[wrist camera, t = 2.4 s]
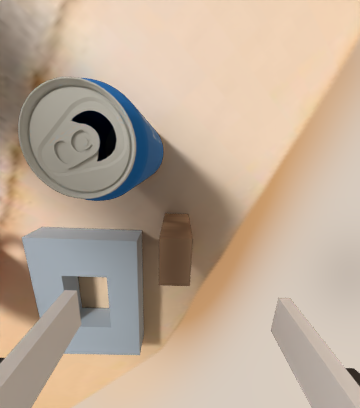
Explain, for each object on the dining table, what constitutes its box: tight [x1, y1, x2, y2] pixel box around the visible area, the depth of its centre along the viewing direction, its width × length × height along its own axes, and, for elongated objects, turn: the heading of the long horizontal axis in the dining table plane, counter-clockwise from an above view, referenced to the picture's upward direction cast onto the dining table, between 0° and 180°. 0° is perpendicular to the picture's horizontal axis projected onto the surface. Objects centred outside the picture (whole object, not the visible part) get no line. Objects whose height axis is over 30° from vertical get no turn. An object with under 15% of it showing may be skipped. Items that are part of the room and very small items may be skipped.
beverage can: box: [18, 77, 163, 201], centre depth 14 cm, size 6×6×12 cm
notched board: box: [22, 227, 144, 355], centre depth 23 cm, size 13×18×3 cm
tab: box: [159, 213, 193, 286], centre depth 19 cm, size 3×5×7 cm, turn 177°
